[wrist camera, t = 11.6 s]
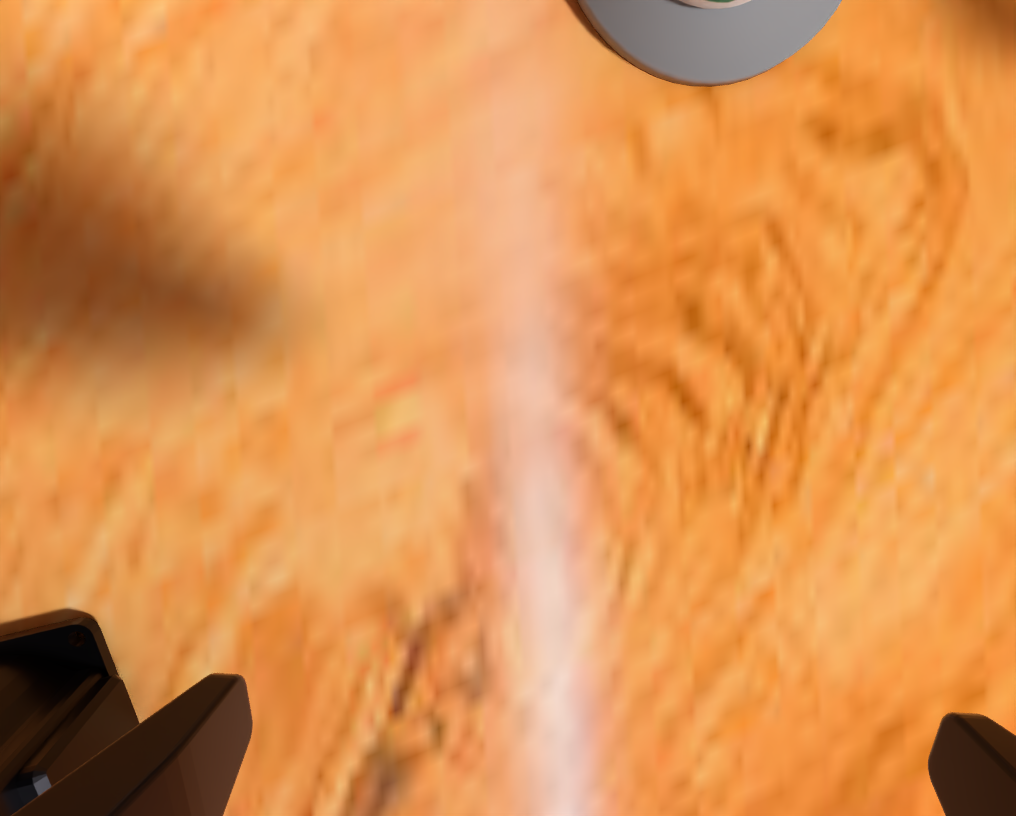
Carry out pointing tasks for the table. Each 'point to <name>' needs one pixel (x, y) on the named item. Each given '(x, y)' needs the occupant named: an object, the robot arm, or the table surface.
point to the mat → (707, 36)
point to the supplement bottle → (715, 3)
